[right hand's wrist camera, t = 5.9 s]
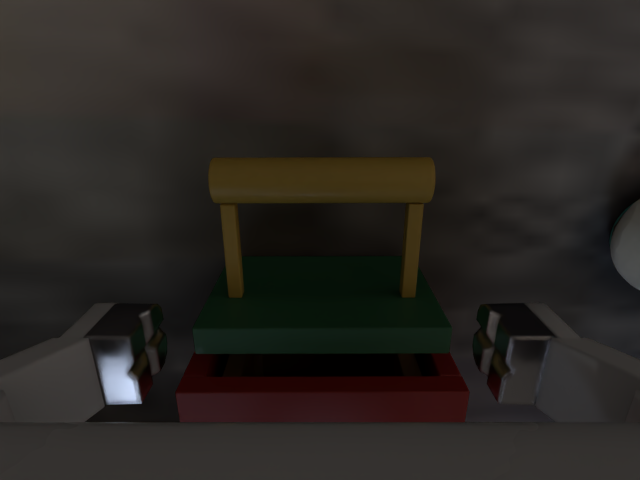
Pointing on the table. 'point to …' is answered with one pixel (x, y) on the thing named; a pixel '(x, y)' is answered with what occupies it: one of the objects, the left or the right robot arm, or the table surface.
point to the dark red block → (322, 395)
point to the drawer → (322, 277)
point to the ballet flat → (627, 244)
